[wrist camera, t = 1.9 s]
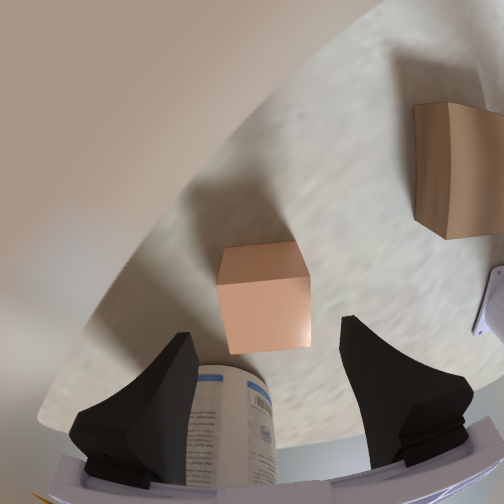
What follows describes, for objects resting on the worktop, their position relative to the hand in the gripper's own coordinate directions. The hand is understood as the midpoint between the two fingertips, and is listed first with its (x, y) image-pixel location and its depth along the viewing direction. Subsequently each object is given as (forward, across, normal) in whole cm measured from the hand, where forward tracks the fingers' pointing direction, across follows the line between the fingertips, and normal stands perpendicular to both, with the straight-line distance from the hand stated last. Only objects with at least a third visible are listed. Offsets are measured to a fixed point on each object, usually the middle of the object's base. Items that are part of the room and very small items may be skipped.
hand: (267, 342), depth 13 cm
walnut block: (+7, -15, -7) cm, 18 cm away
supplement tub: (+7, +5, +12) cm, 15 cm away
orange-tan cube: (+7, 0, 0) cm, 7 cm away
